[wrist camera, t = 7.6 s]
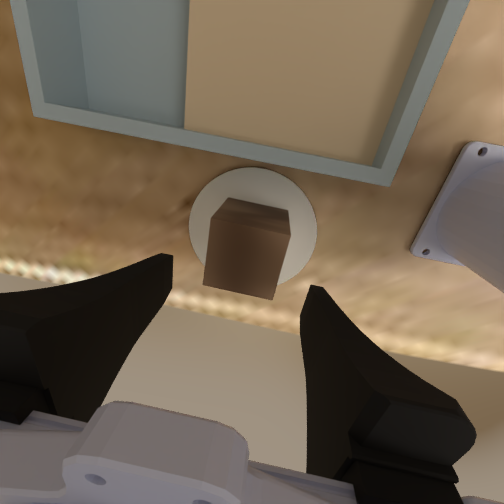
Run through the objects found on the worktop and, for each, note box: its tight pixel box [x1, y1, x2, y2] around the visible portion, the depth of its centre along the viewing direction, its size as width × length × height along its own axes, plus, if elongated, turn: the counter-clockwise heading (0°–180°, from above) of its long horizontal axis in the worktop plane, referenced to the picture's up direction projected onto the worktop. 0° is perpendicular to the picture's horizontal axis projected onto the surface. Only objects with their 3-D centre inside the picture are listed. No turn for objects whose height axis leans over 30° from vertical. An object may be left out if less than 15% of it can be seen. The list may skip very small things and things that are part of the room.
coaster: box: [189, 167, 317, 285], centre depth 19 cm, size 10×10×1 cm
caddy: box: [10, 0, 470, 187], centre depth 12 cm, size 20×12×4 cm, turn 80°
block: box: [203, 197, 291, 300], centre depth 16 cm, size 4×4×5 cm
